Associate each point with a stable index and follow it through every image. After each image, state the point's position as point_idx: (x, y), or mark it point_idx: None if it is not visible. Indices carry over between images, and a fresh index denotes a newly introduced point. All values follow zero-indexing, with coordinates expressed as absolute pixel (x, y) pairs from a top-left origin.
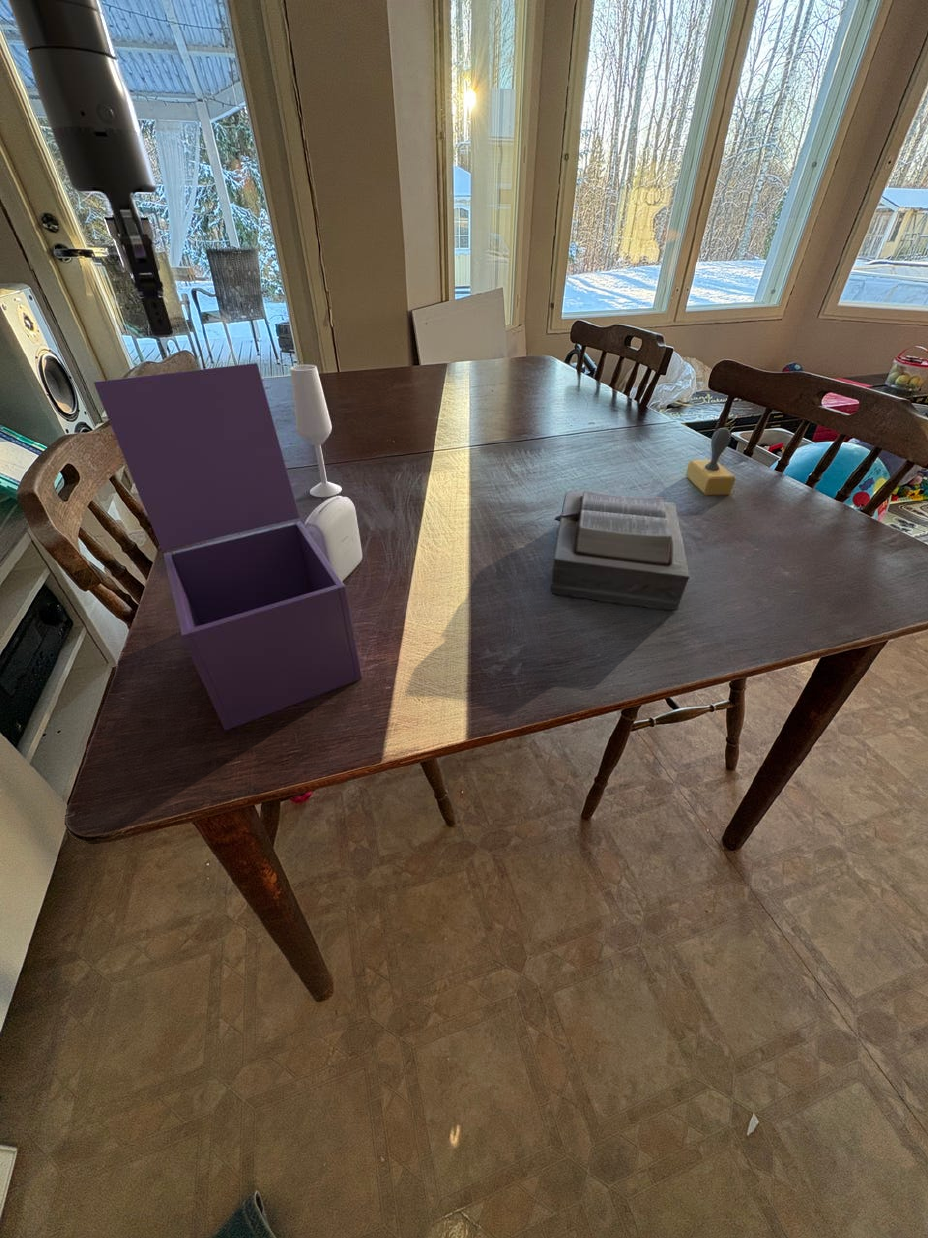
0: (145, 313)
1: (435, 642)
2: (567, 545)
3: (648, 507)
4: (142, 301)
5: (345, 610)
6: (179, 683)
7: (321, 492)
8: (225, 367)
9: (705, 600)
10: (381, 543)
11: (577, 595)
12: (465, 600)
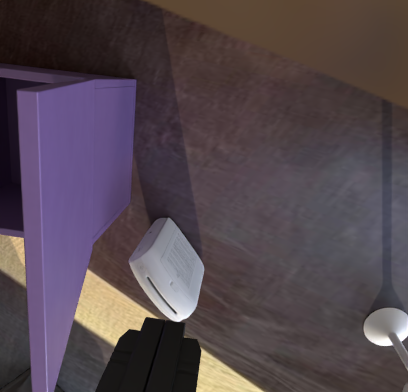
0: (145, 357)
1: (24, 257)
2: None
3: None
4: (118, 389)
5: None
6: (84, 42)
7: (378, 319)
8: (30, 358)
9: None
10: (206, 308)
11: (18, 377)
12: None
